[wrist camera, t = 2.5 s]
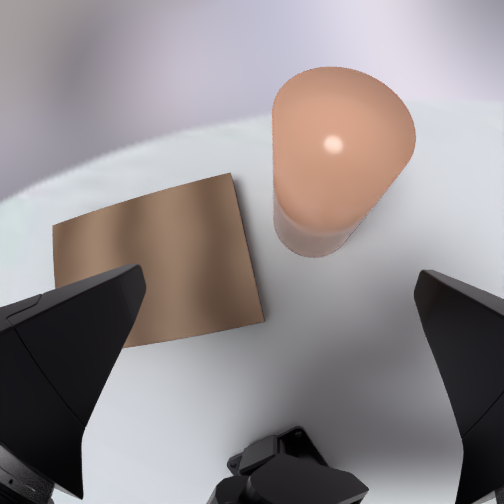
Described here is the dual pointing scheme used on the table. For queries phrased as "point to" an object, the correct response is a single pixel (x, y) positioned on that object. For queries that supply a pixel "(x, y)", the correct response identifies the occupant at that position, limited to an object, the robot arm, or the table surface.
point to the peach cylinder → (334, 155)
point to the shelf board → (169, 258)
